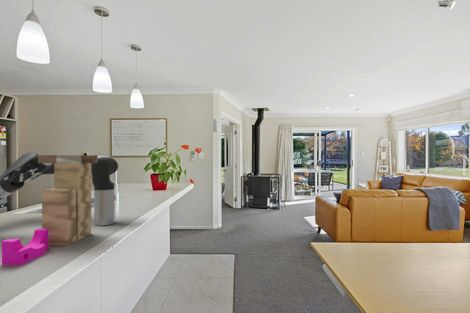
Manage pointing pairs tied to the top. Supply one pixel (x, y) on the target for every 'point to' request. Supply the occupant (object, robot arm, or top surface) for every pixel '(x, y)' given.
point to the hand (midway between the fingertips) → (38, 166)
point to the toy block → (25, 248)
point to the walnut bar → (54, 158)
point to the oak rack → (68, 201)
